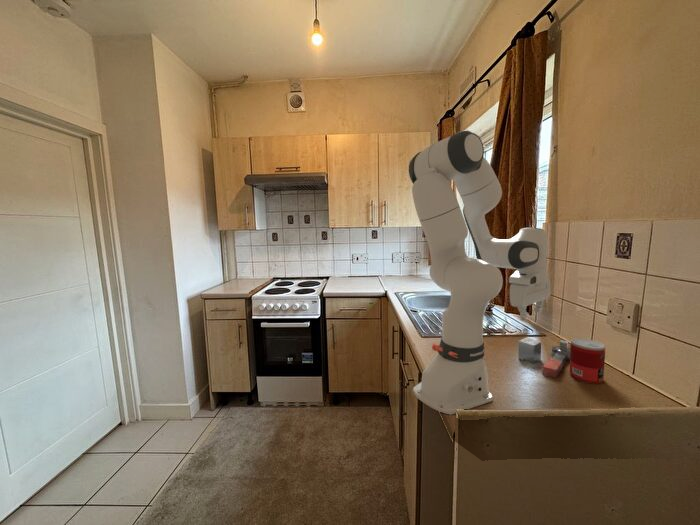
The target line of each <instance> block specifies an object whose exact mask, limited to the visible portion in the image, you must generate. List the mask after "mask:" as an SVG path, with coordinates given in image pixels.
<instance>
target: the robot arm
mask: <svg viewBox="0 0 700 525" xmlns="http://www.w3.org/2000/svg"><path fill="white" fill-rule="evenodd" d="M479 136H480V135H478V134H476V133H475V132H473V131H471V130H468V129H467V130H462V131H461V130H460V131H457V132H455V133H453V134H452V135H451V136H448V137H446V138H443V139H441V140H439V141H435V142H434V143H432V144H430V145H429V146H428V147H426V148H424V149H423V150H421V151H419V152H418V153H416V154H415V155H414V156H413V157H412V158H411V159H410V162H409V164H408V176H409V178H410V181H411V183H412V187H411V194H412V199H413V203H414V208H415V212H416V215H417V217H418V220H419V223H420V226H421V228H422V231H423V234H424V235H425V239H426V242H427V244H428V249H429V254H430V256H429V257H430V262H431V263H430V266H429V276H430V278H431V280H432V281H433V283H435V284H436V285H437V286H438V287H439V288H441V289H442V290H443V291H447V292H450V300H449V304H448V307H447V308H445V310H444V311H443V312H442V316H441V330H442V331H441V333H442V335H441V338H440V342H439V344H437V343H433V344H432V346H431V350H432V351H434V352H437V354H436V355H435V356H434V357H433V359H432V360H431V361H430V363H429V364H428V365H427V366H426V367H425V369H424V370H423V371H422V375H421V381H420V382H419V383H417V384H416V385H415V386H413V388H412V393H413V394H414V396H416V398H417V399H418V400H420V402H422V403H423V404H425V405H427V406H428V407H429V408H431V409H434V411H435V410H436V411H438V412H440V413H443V414H447V415H453V414H456V413H455V410H456V409H467V410H470V409H473V408H475V407H479V406H482V405H484V404H487V403H491V402H492V401H494V400H493V399H494V396H493V394H492V393H491V392H490V385H489V375H488V367H487V366H486V364H485V359H484V356H485V350H486V349H485V342H484V341H483V334H484V317H485V312H486V309H487V307H488V305H489V303H490V302H491V301H492V300H493V299H494V298H496V297H497V296H498V295H499V293H500V292H501V290H502V288H503V284H504V283H503V282H504V278H503V275H502V272H501V270H500V269H499V268H502V269H510V270H515V271H514V272H513V273H512V274H511V275H510V276H509V278H508V283H510V285H509V303H510V306H512V307H515V308H517V309H518V312H519V317H520V318H521V319H527V318H529V317H528V316H529V313H528V312H527V307H528V306H530V305H533V304H535V306H534V308H533V309H534V312H535V313H537V314H539V313H542V312H543V311H542V309H543V306H544V303H545V300H546V299H549V298H550V297H551V294H552V292H551V291H552V290H551V281H550V278H549V277H548V276H549V275H548V271H549V269H548V268H549V266H548V263H547V259H548V255H549V240H548V235H547V232H546V230H545V229H543V228H539V227H523V228H520V229H519V232H518V233H516V234H515V235H514V236H513V237H510V238H508V239H505V238H503V239H501V238H500V239H499V238H496V237H494V236H492V235H491V233H490V229H489V227H488V224H487V220H486V218H485V217H486V214H488V213H489V212H491V211H492V210H493V209H495V207H496V206H497V205H498V204H499V203H500V201H501V199H502V195H503V190H502V185H501V183H500V181H499V178H498V177H497V175H496V173H495V170H494V169H493V168H492V166H491V164H490V163H489V161H488V159H487V158H486V157H485V147H484V143H483V141H482V139H481V138H480V137H479ZM451 181H452V182H453V183H454V186H455V188H456V190H457V192H458V194H459V196H460V199H461V200H462V204H463V208H462V210H461V206H460V203H459V201H458V199H457V196H456V194H455V192H454V190H453V188H452V186H451ZM468 234H470V237H471V240H472V243H473V245H474V252H475V257H476V258H474V257H469V256H468V255H467V253H466V249H465V240H466V239H467V237H468Z"/></svg>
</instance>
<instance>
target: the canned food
mask: <svg viewBox="0 0 700 525" xmlns="http://www.w3.org/2000/svg"><path fill="white" fill-rule="evenodd" d="M569 348H570V361H569V374H570V376H571V377H573V378H574V379H575V380H578V381H580V382H582V381H583V383H586V382H587V384H592V383H593V385H596V384H597V383H598V384H601V383H603V381H604V379H605V377H604V375H605V364H606V363H605V360H606V345H605V344H604V343H602V342H600V341H597V340H594V339H590V338H589V339H588V338H581V337H580V338H579V337H577V338H572V339H570V346H569Z"/></svg>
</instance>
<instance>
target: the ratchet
mask: <svg viewBox="0 0 700 525" xmlns="http://www.w3.org/2000/svg"><path fill="white" fill-rule="evenodd" d="M550 351H551V354H550V356H551V357H549V359H547V361H546V362H545V364H544V365H542V375H543V376H546V377H550V378H553V379H556V378H557V377H558V375H559V374H560V372H561V371H562V369H563V366H564V365H565V363H566V362H570V346H569V341H567V340H562V339H561V340H560V341H559V345H554V346H553V345H552V346H551V350H550Z"/></svg>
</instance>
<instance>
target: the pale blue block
mask: <svg viewBox="0 0 700 525" xmlns="http://www.w3.org/2000/svg"><path fill="white" fill-rule="evenodd" d="M517 350H518V359H519V360H521V361H524V362H527V363H530V364H532V365H533V364H536V363H537V362H539V361H541V360H542V358H541V357H542V341H540V340H536V339H533V338H530V337H525V338H522V339H520V340H518V348H517Z"/></svg>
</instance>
